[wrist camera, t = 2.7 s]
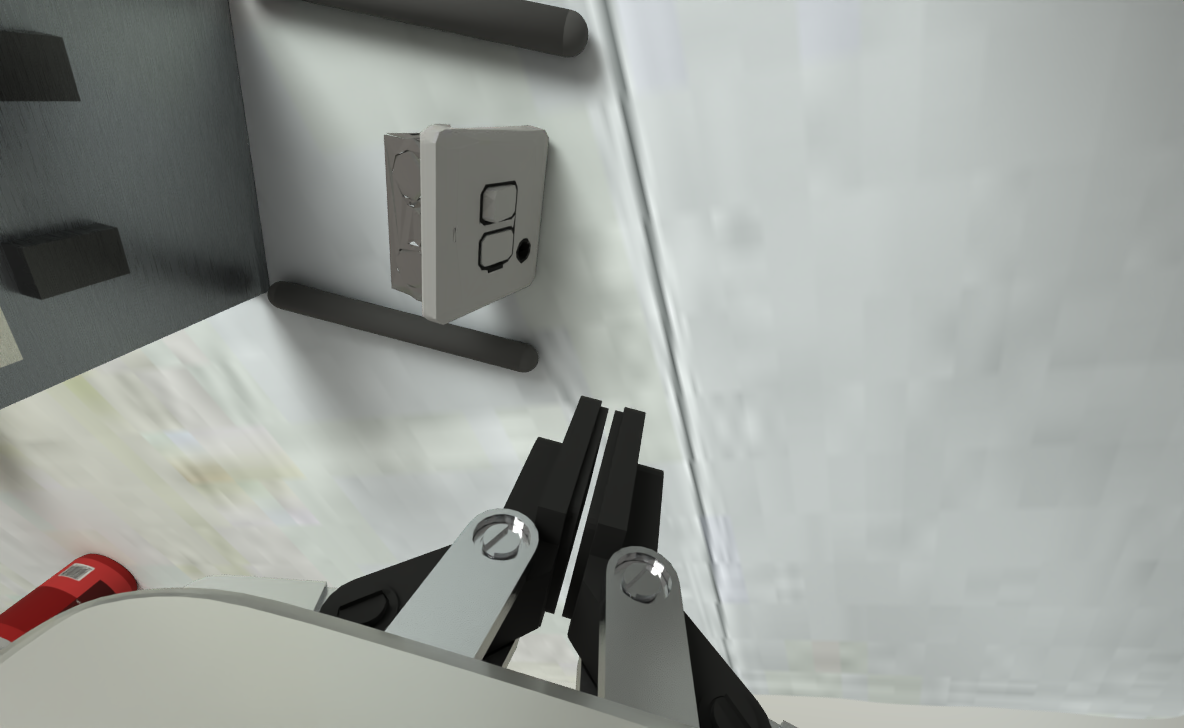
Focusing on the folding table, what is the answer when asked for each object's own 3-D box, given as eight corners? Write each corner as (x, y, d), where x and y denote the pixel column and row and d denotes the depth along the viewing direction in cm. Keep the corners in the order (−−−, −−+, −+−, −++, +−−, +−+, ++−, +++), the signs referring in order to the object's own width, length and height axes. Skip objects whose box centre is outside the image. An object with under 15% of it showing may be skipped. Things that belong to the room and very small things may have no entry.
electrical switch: (536, 283, 33) (467, 338, 25) (465, 265, 34) (376, 312, 26) (552, 128, 28) (474, 133, 20) (470, 112, 29) (363, 111, 21)
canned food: (70, 562, 61) (-45, 647, 52) (96, 543, 58) (-21, 630, 49) (122, 601, 64) (20, 689, 54) (150, 585, 60) (47, 676, 51)
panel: (237, -46, 27) (-404, -252, 11) (282, 293, 37) (-26, 436, 21) (154, -64, 27) (-578, -287, 12) (221, 277, 37) (-128, 405, 21)
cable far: (543, 342, 34) (535, 355, 33) (539, 367, 35) (531, 380, 34) (279, 274, 36) (258, 283, 34) (283, 299, 37) (262, 309, 35)
